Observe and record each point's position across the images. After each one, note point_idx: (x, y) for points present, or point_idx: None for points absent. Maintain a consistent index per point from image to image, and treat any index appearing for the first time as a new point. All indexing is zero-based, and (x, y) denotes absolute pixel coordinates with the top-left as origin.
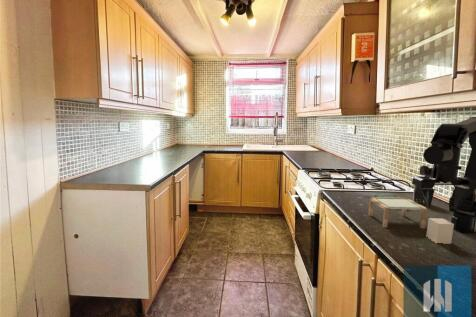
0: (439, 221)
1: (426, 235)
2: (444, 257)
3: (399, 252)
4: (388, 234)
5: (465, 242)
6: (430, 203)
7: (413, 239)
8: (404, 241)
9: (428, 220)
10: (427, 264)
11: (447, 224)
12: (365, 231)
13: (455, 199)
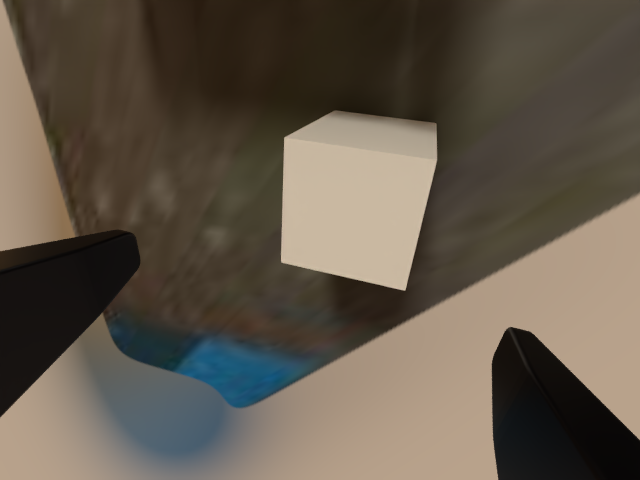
0: (326, 223)
1: (331, 113)
2: (265, 310)
3: None
4: (122, 59)
5: (540, 215)
6: (91, 314)
7: (232, 141)
8: (174, 160)
9: (291, 135)
10: (178, 327)
11: (351, 276)
12: (9, 7)
13: (553, 451)
